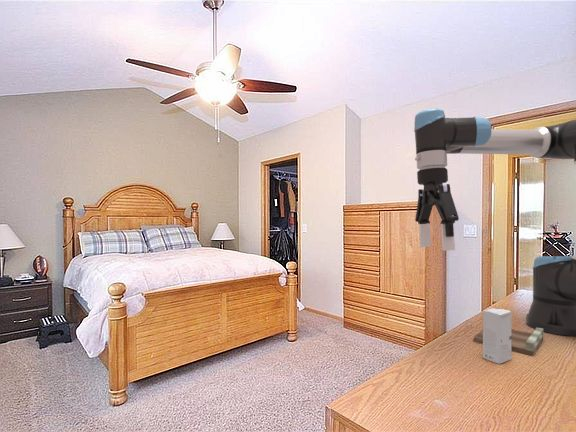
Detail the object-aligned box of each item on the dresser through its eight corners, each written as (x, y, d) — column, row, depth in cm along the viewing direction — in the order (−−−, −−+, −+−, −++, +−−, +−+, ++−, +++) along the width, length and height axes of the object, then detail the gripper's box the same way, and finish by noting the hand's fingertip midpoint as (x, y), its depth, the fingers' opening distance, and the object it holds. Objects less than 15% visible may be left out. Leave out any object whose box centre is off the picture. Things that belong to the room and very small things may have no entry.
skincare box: (500, 364, 84) (501, 314, 84) (481, 358, 88) (482, 310, 88) (512, 359, 88) (513, 311, 87) (493, 352, 91) (494, 306, 91)
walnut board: (489, 328, 111) (489, 318, 111) (543, 339, 101) (543, 328, 101) (473, 341, 99) (473, 330, 99) (532, 356, 89) (533, 343, 89)
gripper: (401, 175, 106) (405, 246, 105) (439, 161, 81) (444, 252, 80) (426, 174, 106) (430, 244, 105) (471, 159, 81) (476, 251, 80)
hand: (436, 248), depth 93 cm, fingers open, 13 cm apart
